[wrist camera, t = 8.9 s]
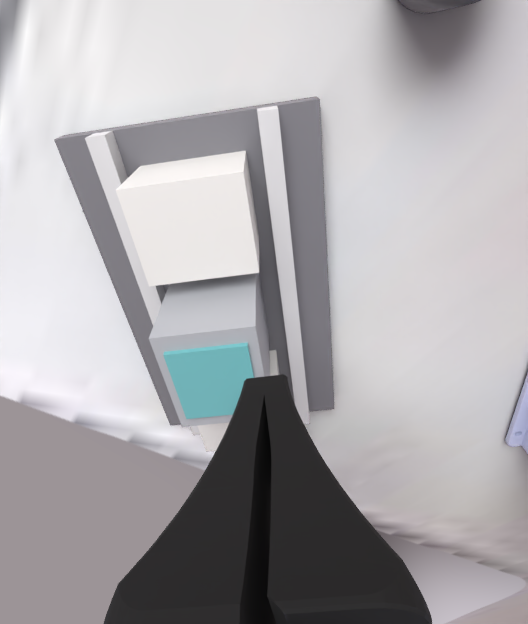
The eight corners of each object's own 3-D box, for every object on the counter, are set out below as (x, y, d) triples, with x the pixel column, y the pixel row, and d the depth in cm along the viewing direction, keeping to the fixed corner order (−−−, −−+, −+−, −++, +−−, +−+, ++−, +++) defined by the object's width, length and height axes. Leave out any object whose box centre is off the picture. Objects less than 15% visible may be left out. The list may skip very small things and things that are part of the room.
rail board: (331, 397, 26) (344, 455, 22) (173, 413, 27) (159, 472, 23) (316, 96, 16) (334, 109, 12) (64, 135, 17) (8, 158, 13)
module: (268, 334, 22) (272, 421, 17) (199, 342, 22) (181, 430, 17) (256, 254, 19) (255, 329, 14) (176, 264, 19) (147, 342, 14)
